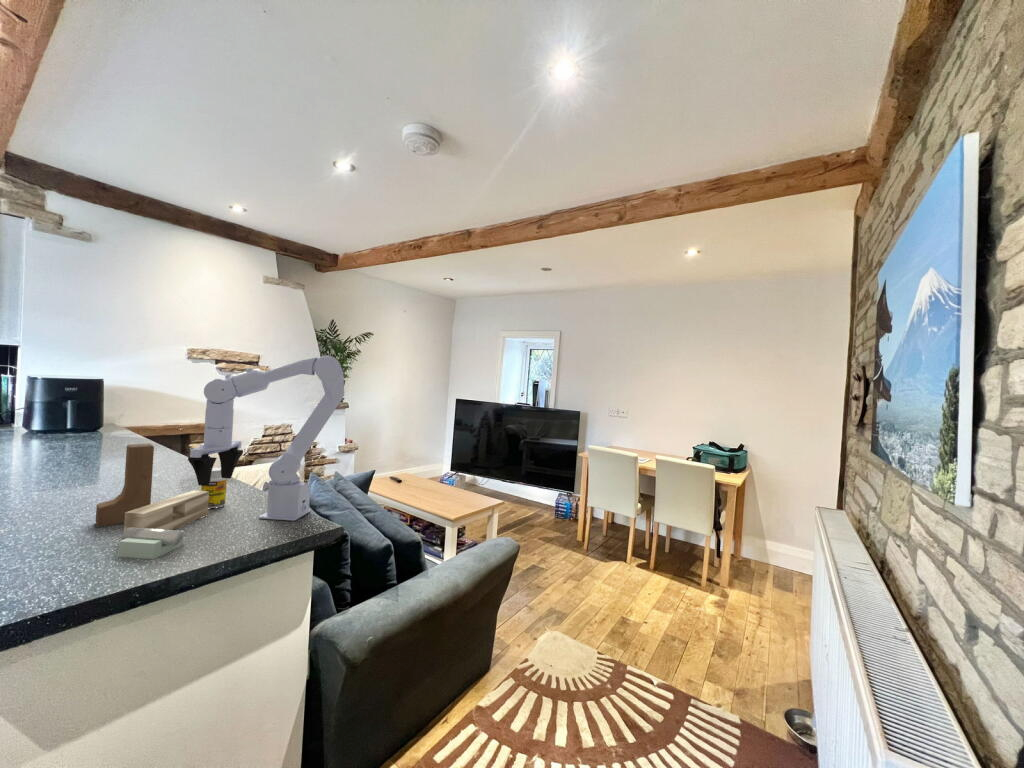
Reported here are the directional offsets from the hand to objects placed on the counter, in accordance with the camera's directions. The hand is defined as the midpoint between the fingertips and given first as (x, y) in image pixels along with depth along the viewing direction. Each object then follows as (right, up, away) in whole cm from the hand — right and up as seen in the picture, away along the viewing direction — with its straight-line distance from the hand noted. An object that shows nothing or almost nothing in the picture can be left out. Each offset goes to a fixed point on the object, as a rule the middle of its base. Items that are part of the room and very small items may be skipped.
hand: (215, 481), depth 101 cm
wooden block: (-19, -9, -5) cm, 21 cm away
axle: (+1, -7, -19) cm, 20 cm away
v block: (+1, -9, -19) cm, 21 cm away
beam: (-6, -9, -7) cm, 13 cm away
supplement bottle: (-7, -9, +9) cm, 15 cm away
